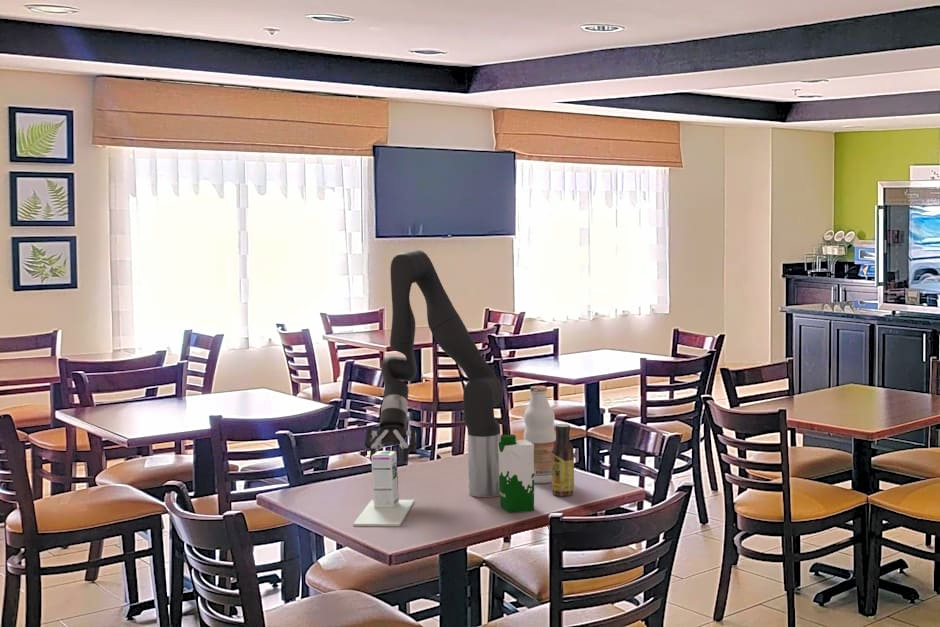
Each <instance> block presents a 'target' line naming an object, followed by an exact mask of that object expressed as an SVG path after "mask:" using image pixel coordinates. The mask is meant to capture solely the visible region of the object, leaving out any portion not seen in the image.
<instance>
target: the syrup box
mask: <svg viewBox="0 0 940 627" xmlns="http://www.w3.org/2000/svg"><path fill="white" fill-rule="evenodd" d="M371 459H372V462H371V476H372V478H371V479H372V497H373V499H372V500H374V507H377V508H394V506H395V505H396V504H397V503H398V502H399V500H400V498H399V497H400V496H399V478H398V461H397V460H398V459H397V451H395V450H378V451H377V452H376V453H375V454H373V455H372V456H371Z"/></svg>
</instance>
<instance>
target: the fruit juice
mask: <svg viewBox="0 0 940 627" xmlns="http://www.w3.org/2000/svg"><path fill="white" fill-rule="evenodd" d="M529 388H530V389H529V390H530V393H531V396H530V399H529V403H528V406H527V408H526V409H525V411H524V412H523V413H524V414H523V420H524V424H525V429H524V430H523V431H524V432H523V439H525V440H527V441H529V442H530V443H532V444H534V484H547V483H548V484H550V483H552V450H553V447H554V444H555V441H556V430H555V428H554V422H555V420H556V416H555V412H554V410H553V408H552V407H551V405H550V403H549V400H548V397H547V393H548V387H547V385H533V386H530V387H529Z"/></svg>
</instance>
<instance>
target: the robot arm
mask: <svg viewBox="0 0 940 627" xmlns="http://www.w3.org/2000/svg"><path fill="white" fill-rule="evenodd" d="M389 270H390V290H391V305H392V306H391V308H392V309H391V310H392V313H391V315H392V318H391V319H392V320H391V330H390V338H389V340H390V341H389V345H390V349H391V350H393V351H395V352H397V353H401V354H402V355H404V356H395V355H388V356H386V357H384V358H383V360H382V362H381V366H380V367H381V374H382V378H383V383H384V390H383V392H384V393H383V400H382V404H381V411H380V418H379V420H380V421H379V425H378V426H379V428H378V429H377V430H372V428H368V429H367V431H366V435H365V441H364V448H365V450H366V452H370V454H369V459H370V462H371V463H372V459H371V456H372V455H373V454H375V453H376V452H377V451H380V449H382V448H383V447H384V446H386V447H388V446H389V447H390V446H393V447H395V446H396V447H397V446H398V445H399V447H400V448H401V449H402V457H401V461H402V465H403V464H404V465H405V464H406V463H408V461H409V453H410V452H411V451H412V452H415V451H416V450H417V432H416V429H415V428H411V430H407V429H406V428H407V419H408V407H409V405H408V403H409V402H408V401H409V400H408V399H409V386H408V384H407V383H405V382H412V381H413V380H414V379H415V378H416V376H417V374H418V367H417V363H416V362H417V361H416V358H415V357H416V356H415V336H416V318H415V315H414V311H413V308H412V306H411V300H410V293H411V289H412V285H413V284H415V283H416V285H417V286H418V288H419V289H420V291H421V293H422V295H423V297H424V300H425V303H426V317H427V324H428V328H429V330H430V331H431V332H430V333H431V334H432V335H433V337H434V339H435V341H436V342H437V344H438V346H439V347H440V348H441V349H442V351H443V352H444V353H445V354H447V356H449V358H451V360H453V362H455V363H456V364H457V365H458V366H459V367H460V368H461V370H463V372H464V374H465V376H466V378H467V379H468V382H467V383H466V385H465V386H464V389H463V393H462V394H463V397H462V400H463V401H462V402H463V415H464V418H463V419H464V424H465V426H466V428H467V455H468V457H467V461H468V492H469V495H470V496H472V497H476V498H491V497H500V487H499V454H498V441H501V425H500V423H499V422H498V421H496V418H495V409H494V408H495V407H496V406H498V405H500V404H501V403H502V401H503V399H504V389H503V388H504V387H503V385H502V383H501V381H500V380H499V378H498V377H497V375H496V374H495V372H494V371H493V369H491V367H490V366H489V364H488V362H487V360H485V358H484V357H483V355H482V353H481V352H480V350H479V348H478V346H477V345H476V342H475V341H474V340H473V337H472V336H471V334H470V332H469V330H468V328H467V326H466V325H465V324H464V322H463V320H462V318H461V316H460V315H459V313H458V312H457V310H456V308H455V306H454V305H453V303H452V301H451V300H450V297H449V296H448V294H447V291H446V290H445V288H444V286H443V285H442V282H441V280H440V278H439V276H438V273H437V270H436V269H435V266H434V265H433V262H432V261H431V258H430V257H429V255H427V253H426V252H424V251H423V250H420V249H414V250H408V251H404V252H403V251H402V252H400V253H397V254H396V255H394V257H393V258H392V260H391V263H390V269H389ZM407 436H408V438H409V439H410V444H408V443H407V442H406V440H405V438H406V437H407ZM376 437H377V438H376ZM375 438H376V439H375ZM374 439H375V441H374V442H373V440H374ZM372 442H373V443H372Z"/></svg>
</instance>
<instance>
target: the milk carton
mask: <svg viewBox="0 0 940 627" xmlns="http://www.w3.org/2000/svg"><path fill="white" fill-rule="evenodd" d="M516 437H517V436H516V435H515V434H512V433H507V434H500V441H498V454H499V487H500V496H499V501H500V502H499V503H500V507H501V508H502V510H504V511H506V512H507V513H508V514H515V513H523V512H532V511H535V483H534V444H532V443H530V442H529V441H527V440H525V439H524V438H523V439H517V438H516Z"/></svg>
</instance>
